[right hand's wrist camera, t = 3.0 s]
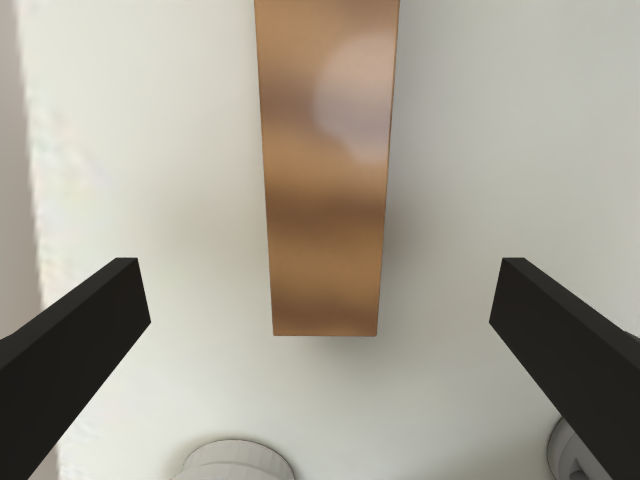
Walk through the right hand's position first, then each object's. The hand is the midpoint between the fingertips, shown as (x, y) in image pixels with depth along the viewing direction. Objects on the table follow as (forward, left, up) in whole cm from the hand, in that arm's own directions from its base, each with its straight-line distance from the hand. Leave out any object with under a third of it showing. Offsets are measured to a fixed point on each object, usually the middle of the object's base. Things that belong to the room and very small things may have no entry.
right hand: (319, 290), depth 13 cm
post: (+19, +13, -12) cm, 26 cm away
